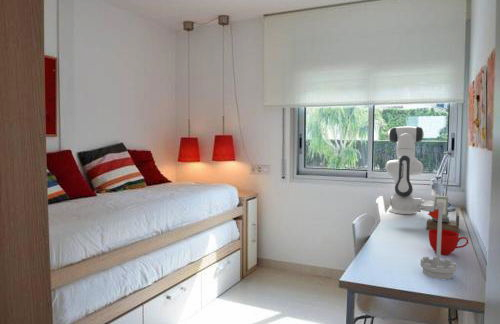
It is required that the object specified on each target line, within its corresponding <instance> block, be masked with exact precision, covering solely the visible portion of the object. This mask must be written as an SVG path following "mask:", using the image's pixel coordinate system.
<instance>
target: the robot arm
mask: <svg viewBox="0 0 500 324" xmlns="http://www.w3.org/2000/svg"><path fill="white" fill-rule="evenodd" d="M424 135H425V132H424V129H423V128H422V127H421V126H407V125H406V126H397V127H396V126H394V127H391V128H390V129H389V130H388V133H387V136H388V140H389V141H390V142H392V143H394V144H396V151H395V152H396V159H393V160H388V161H387V162H386V163H385V166H384V168H385V171H386V173H387V174H389V176H391V178H392V179H393V182H394V191H395V192H394V193H393V194H392V196H391V197H390V205H391V209H388V211H389V212H391V213H394V214H399V215H416V214H417V213H422V212H428V213H429V212H433V211H434V209H438V208H437V206H435V200H429V199H424V198H423V199H422V197H413V193H414V188H413V186H412V183H411V181H410V177H411V176H418V175H419V176H420V175H421V174H422V173H423V172H424V165H423V163H422V162H421V161H420V160H418V159H417V158H416V156H415V155H416V154H415V153H416V144H415V143H420V142H422V140H423V139H424ZM421 211H422V212H421Z"/></svg>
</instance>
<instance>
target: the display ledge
mask: <svg viewBox="0 0 500 324" xmlns="http://www.w3.org/2000/svg"><path fill="white" fill-rule="evenodd" d="M459 225H460V214H459V211H456V212H455V220H449V222H443V221H442V230H449V231H454V232H457V233H458V234H460V233H459V232H460V231H459V230H460V229H459V228H460V226H459ZM437 228H438V221H433V220H432V218H427V219H426V230H427V231H429V230H433V229H437Z"/></svg>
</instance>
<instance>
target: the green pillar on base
mask: <svg viewBox="0 0 500 324" xmlns="http://www.w3.org/2000/svg"><path fill="white" fill-rule="evenodd" d="M434 202H435V206H437V203H438V202H443V203H444V205H445V206H444V208H443V209H442V221H443V222H449V221H450V217H449V216H447V211H448V212H449V209H448V208H449V207H448V206H449V196H446V195H434ZM435 210H437V209H435ZM431 219H432V220H433V221H438V219H436V218H434V217H431Z"/></svg>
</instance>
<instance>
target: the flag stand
mask: <svg viewBox="0 0 500 324" xmlns="http://www.w3.org/2000/svg"><path fill="white" fill-rule="evenodd" d="M444 206H445V205H444V203H443V202H438V203H437V208H438V209H437V210H435V211H433V212H431V213H429V212H428V213H427V215H429V217H431V216H432V217H434V218H436V219H438V228H437V253H436V252H435V253H436V256H433V257H432V259H431V258H430V257H429V256H423V257H422V258H420V263H419V265H420V267H421V268H422V273H424V274H425V276H426V275H427V277H428V276H429V277H428V278H431V277H432V279H435V278H437V279H436V280H442V279H447V280H451V278H452V279H453V277H454V274H455V272H456V271H457V263H456V262H453V261H452V259H449V258H444V260H442V259H441V255H442V254H441V233H442V209H443V208H444ZM432 217H431V218H432ZM424 274H423V275H424Z"/></svg>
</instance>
